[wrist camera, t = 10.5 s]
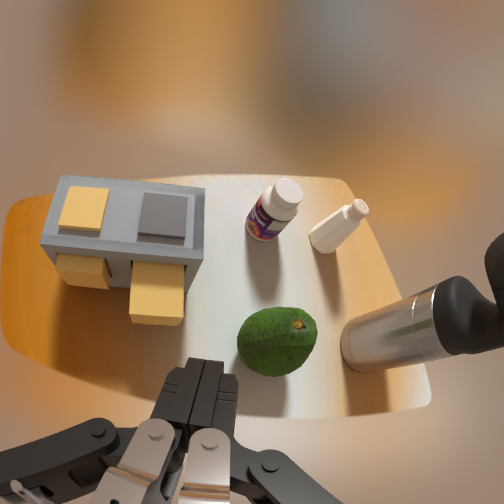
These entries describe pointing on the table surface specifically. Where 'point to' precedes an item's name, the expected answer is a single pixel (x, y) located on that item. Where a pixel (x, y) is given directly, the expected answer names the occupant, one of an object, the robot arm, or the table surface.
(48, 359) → the table surface
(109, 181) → the console
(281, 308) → the fruit
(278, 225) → the pill bottle
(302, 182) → the table surface
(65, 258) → the button
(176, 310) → the button
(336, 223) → the pepper shaker
